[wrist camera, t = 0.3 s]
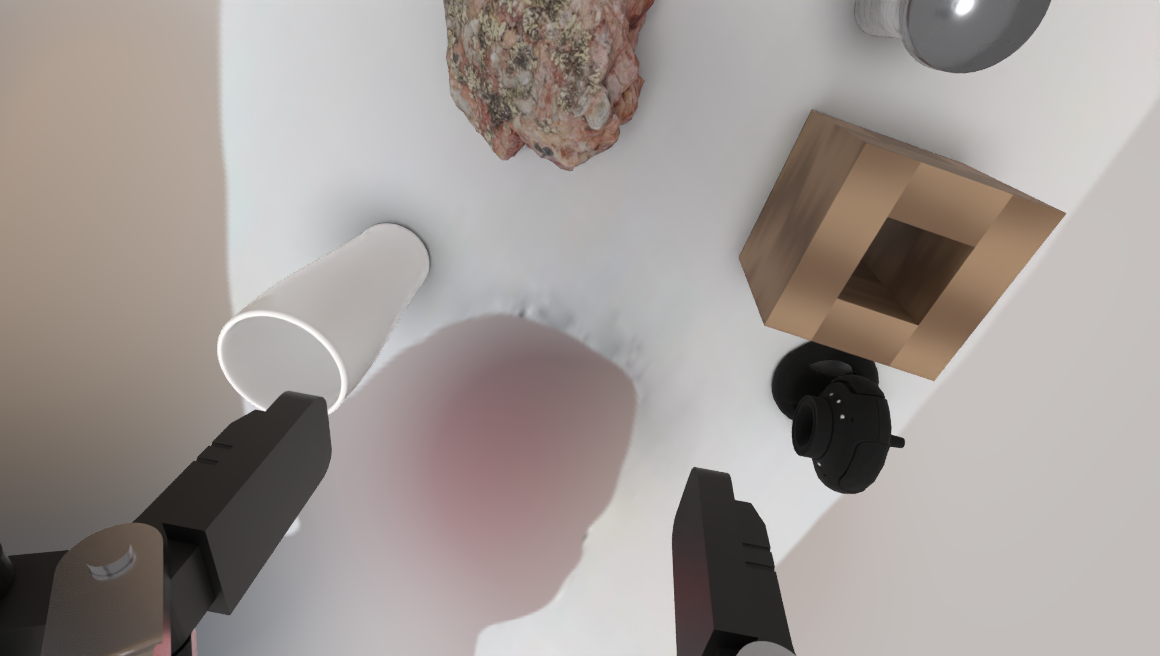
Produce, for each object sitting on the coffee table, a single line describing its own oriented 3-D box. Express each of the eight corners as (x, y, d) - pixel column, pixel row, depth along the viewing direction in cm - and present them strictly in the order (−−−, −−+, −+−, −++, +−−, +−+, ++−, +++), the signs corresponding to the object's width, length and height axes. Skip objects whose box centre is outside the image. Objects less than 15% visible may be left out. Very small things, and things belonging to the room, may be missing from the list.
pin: (866, -66, 29) (963, -98, 20) (954, -33, 29) (1087, -50, 21) (818, 38, 32) (885, 49, 23) (899, 67, 32) (996, 90, 23)
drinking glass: (456, 286, 42) (370, 411, 29) (376, 305, 43) (261, 433, 30) (418, 199, 39) (304, 296, 26) (334, 223, 40) (186, 326, 27)
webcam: (789, 327, 41) (829, 413, 32) (892, 345, 41) (959, 436, 32) (757, 411, 45) (784, 508, 36) (850, 427, 44) (900, 529, 36)
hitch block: (811, 109, 33) (866, 142, 25) (964, 164, 34) (1066, 213, 26) (738, 257, 38) (764, 325, 30) (872, 302, 39) (933, 380, 31)
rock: (490, 256, 30) (301, -58, 22) (505, 177, 39) (375, -68, 30) (777, 139, 27) (688, -284, 18) (723, 81, 36) (645, -222, 27)
